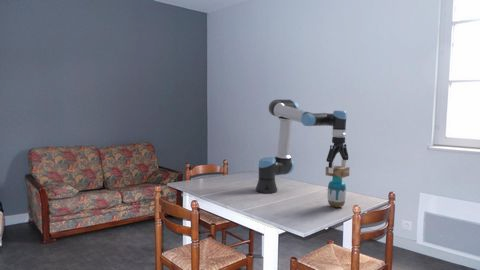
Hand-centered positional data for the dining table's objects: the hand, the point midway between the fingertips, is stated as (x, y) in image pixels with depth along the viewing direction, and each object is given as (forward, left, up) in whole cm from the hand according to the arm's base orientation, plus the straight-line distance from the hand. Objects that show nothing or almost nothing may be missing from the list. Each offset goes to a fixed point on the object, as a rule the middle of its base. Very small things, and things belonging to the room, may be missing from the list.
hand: (337, 171), depth 216 cm
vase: (0, 0, -21) cm, 22 cm away
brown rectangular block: (0, 0, -2) cm, 2 cm away
